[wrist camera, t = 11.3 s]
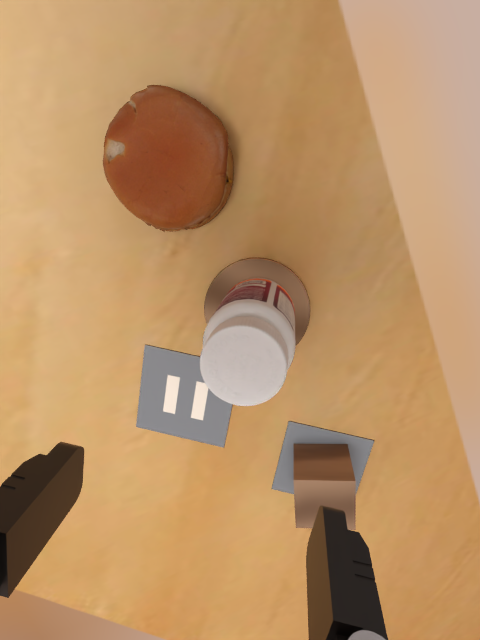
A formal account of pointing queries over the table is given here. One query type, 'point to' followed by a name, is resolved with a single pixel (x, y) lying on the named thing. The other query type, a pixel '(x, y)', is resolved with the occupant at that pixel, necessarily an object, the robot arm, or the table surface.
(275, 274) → the coaster
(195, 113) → the burger
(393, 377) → the table surface
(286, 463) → the code tile
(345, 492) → the walnut block
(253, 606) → the table surface
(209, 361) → the pill bottle
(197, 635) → the table surface
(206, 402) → the code tile
